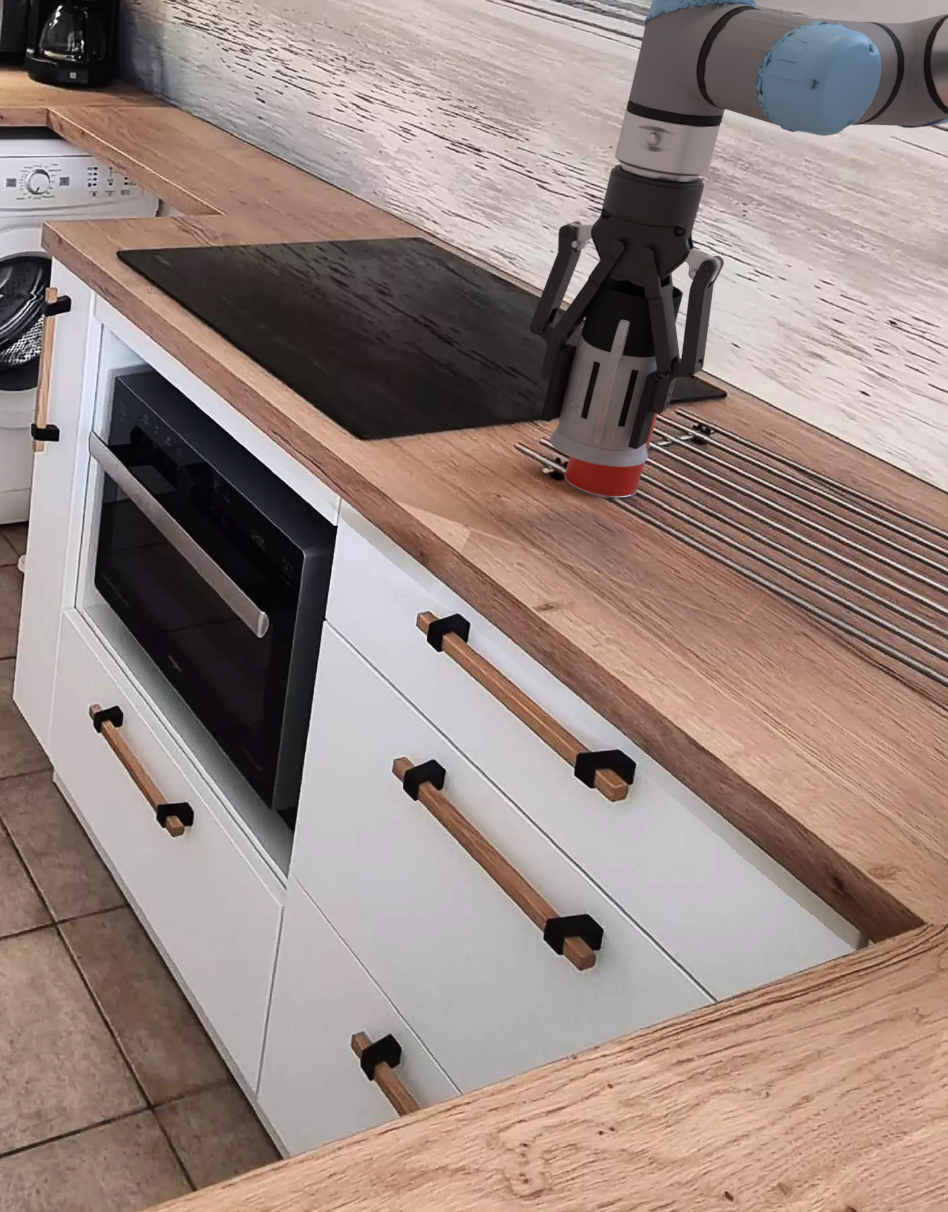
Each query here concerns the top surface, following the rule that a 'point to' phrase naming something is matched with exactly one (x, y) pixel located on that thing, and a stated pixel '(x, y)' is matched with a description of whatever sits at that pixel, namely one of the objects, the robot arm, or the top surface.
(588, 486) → the sauce can
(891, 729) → the top surface
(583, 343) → the glass holder
